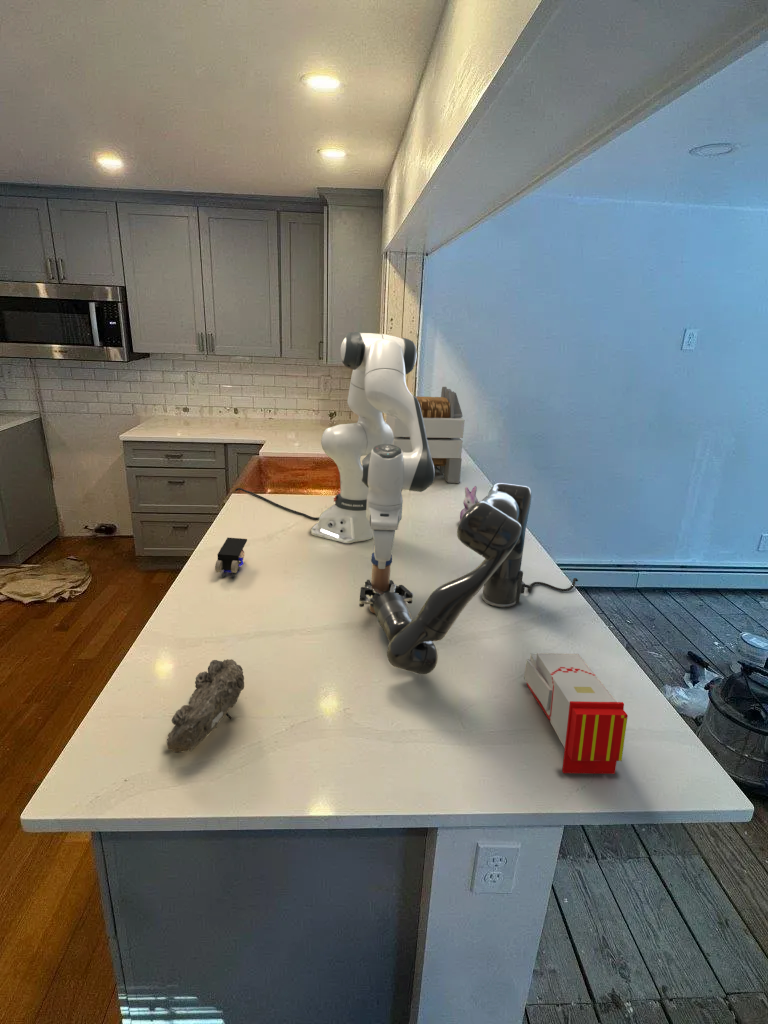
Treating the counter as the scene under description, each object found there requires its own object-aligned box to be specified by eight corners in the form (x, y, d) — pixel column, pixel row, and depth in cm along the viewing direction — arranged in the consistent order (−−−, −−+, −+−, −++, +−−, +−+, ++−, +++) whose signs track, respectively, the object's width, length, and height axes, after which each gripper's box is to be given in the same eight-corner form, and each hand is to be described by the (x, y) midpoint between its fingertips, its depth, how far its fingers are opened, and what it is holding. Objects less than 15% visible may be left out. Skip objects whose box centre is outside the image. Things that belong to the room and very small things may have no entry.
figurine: (467, 532, 204) (471, 492, 198) (451, 522, 212) (455, 484, 207) (488, 528, 208) (493, 489, 203) (472, 519, 216) (476, 482, 211)
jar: (391, 612, 148) (394, 559, 143) (374, 615, 146) (377, 562, 141) (382, 603, 152) (385, 552, 147) (366, 607, 150) (369, 555, 145)
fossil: (192, 660, 117) (244, 628, 112) (224, 691, 120) (276, 661, 115) (142, 746, 98) (202, 712, 93) (182, 779, 101) (242, 748, 96)
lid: (388, 556, 148) (388, 550, 147) (394, 565, 143) (395, 558, 142) (368, 558, 146) (369, 551, 146) (374, 566, 141) (374, 560, 141)
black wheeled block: (238, 584, 162) (249, 557, 175) (236, 562, 158) (247, 536, 172) (215, 584, 161) (227, 556, 175) (212, 561, 158) (225, 535, 171)
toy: (573, 635, 123) (638, 710, 94) (567, 691, 126) (628, 782, 97) (518, 633, 123) (565, 709, 93) (513, 690, 125) (557, 781, 96)
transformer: (382, 463, 289) (386, 382, 275) (445, 464, 293) (451, 384, 279) (390, 482, 257) (394, 392, 243) (460, 483, 261) (468, 394, 247)
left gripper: (371, 497, 150) (369, 545, 154) (370, 525, 130) (368, 579, 135) (395, 498, 150) (393, 546, 154) (398, 526, 130) (394, 580, 135)
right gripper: (423, 598, 134) (404, 567, 150) (364, 602, 131) (351, 570, 146) (421, 626, 137) (402, 593, 152) (363, 630, 133) (350, 596, 149)
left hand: (381, 562), depth 144 cm, fingers closed on lid, 5 cm apart
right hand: (377, 582), depth 149 cm, fingers closed on jar, 5 cm apart
